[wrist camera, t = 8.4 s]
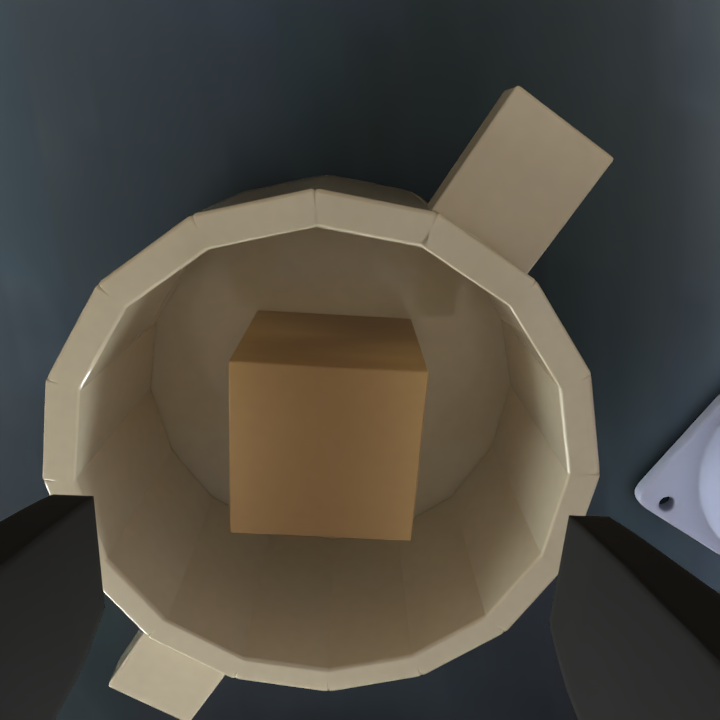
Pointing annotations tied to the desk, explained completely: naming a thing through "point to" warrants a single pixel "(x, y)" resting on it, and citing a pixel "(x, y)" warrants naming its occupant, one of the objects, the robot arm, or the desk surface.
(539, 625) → the desk surface
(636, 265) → the desk surface
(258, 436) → the block
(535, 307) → the pot
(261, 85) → the desk surface
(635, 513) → the desk surface
